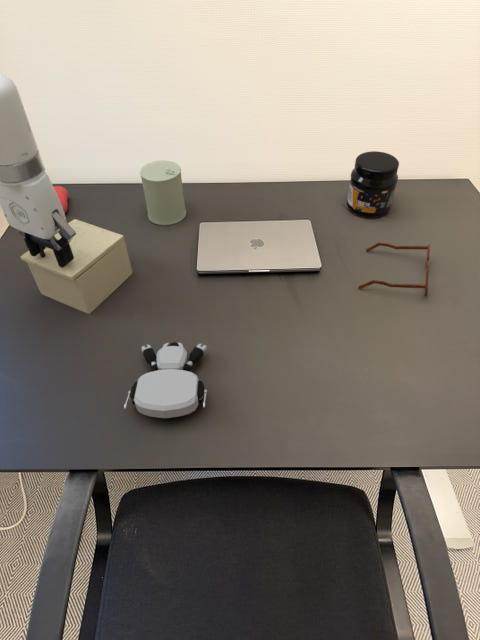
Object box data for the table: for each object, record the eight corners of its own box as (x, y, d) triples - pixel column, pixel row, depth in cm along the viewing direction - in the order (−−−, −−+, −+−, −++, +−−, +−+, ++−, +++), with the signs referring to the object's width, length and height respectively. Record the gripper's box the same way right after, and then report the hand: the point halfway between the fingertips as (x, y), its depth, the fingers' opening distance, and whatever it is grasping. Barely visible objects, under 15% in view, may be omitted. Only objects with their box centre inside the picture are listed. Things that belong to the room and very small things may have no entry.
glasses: (426, 301, 90) (433, 282, 87) (357, 289, 93) (362, 270, 90) (428, 260, 99) (434, 241, 95) (365, 249, 102) (369, 230, 98)
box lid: (72, 280, 82) (63, 252, 78) (21, 259, 87) (10, 232, 83) (124, 238, 92) (118, 212, 87) (75, 222, 96) (67, 195, 92)
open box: (89, 314, 90) (76, 280, 83) (41, 294, 94) (25, 259, 88) (132, 273, 98) (124, 239, 92) (86, 256, 102) (75, 222, 96)
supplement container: (337, 209, 113) (344, 162, 104) (360, 191, 118) (368, 145, 110) (376, 225, 108) (387, 177, 99) (398, 205, 113) (410, 159, 105)
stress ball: (43, 220, 114) (43, 206, 109) (48, 190, 118) (48, 174, 112) (66, 224, 116) (67, 210, 111) (70, 194, 119) (71, 179, 114)
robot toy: (142, 355, 83) (127, 426, 72) (137, 337, 80) (121, 408, 69) (210, 354, 83) (206, 425, 72) (209, 336, 80) (204, 406, 69)
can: (175, 228, 109) (168, 182, 100) (140, 220, 111) (131, 174, 102) (192, 208, 114) (187, 162, 106) (159, 200, 117) (152, 155, 108)
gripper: (-42, 163, 73) (3, 255, 86) (39, 190, 67) (74, 284, 80) (-3, 143, 77) (33, 233, 90) (76, 167, 71) (103, 259, 84)
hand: (52, 256), depth 85 cm, fingers closed on box lid, 6 cm apart
